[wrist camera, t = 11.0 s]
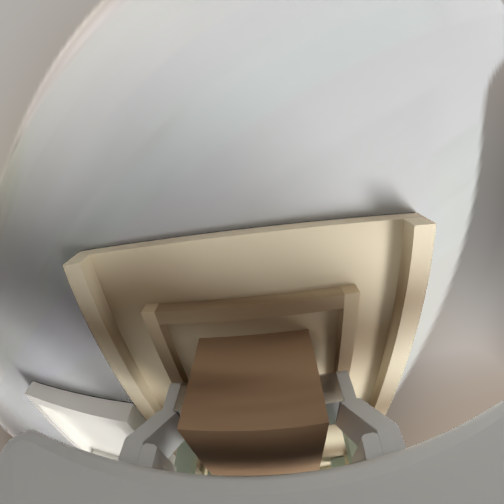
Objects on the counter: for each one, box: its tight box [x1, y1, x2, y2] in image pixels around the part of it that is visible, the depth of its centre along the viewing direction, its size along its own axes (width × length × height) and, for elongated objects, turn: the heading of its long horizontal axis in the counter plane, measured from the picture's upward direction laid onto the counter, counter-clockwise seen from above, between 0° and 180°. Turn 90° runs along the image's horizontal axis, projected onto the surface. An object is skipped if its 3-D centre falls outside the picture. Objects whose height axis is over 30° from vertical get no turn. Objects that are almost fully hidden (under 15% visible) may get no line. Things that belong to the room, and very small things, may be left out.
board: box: [62, 213, 436, 476], centre depth 13 cm, size 22×14×1 cm, turn 7°
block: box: [177, 329, 329, 476], centre depth 9 cm, size 4×4×4 cm
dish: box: [25, 381, 176, 464], centre depth 16 cm, size 11×11×2 cm
